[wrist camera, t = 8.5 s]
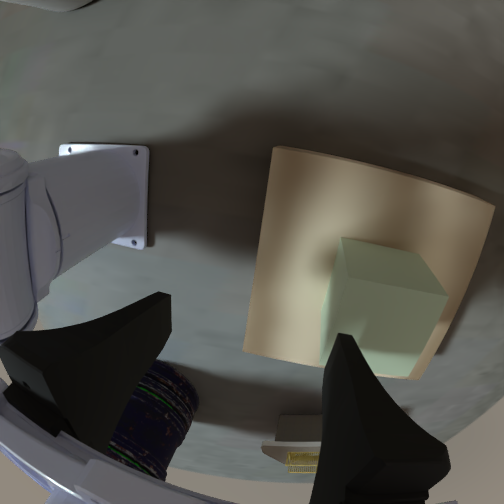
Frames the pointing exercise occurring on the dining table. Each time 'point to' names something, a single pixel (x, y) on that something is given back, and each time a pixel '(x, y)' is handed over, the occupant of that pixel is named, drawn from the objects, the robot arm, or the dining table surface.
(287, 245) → the birch base
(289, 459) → the platform
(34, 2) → the cylinder vase
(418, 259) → the green cube
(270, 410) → the dining table surface
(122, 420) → the storage jar
